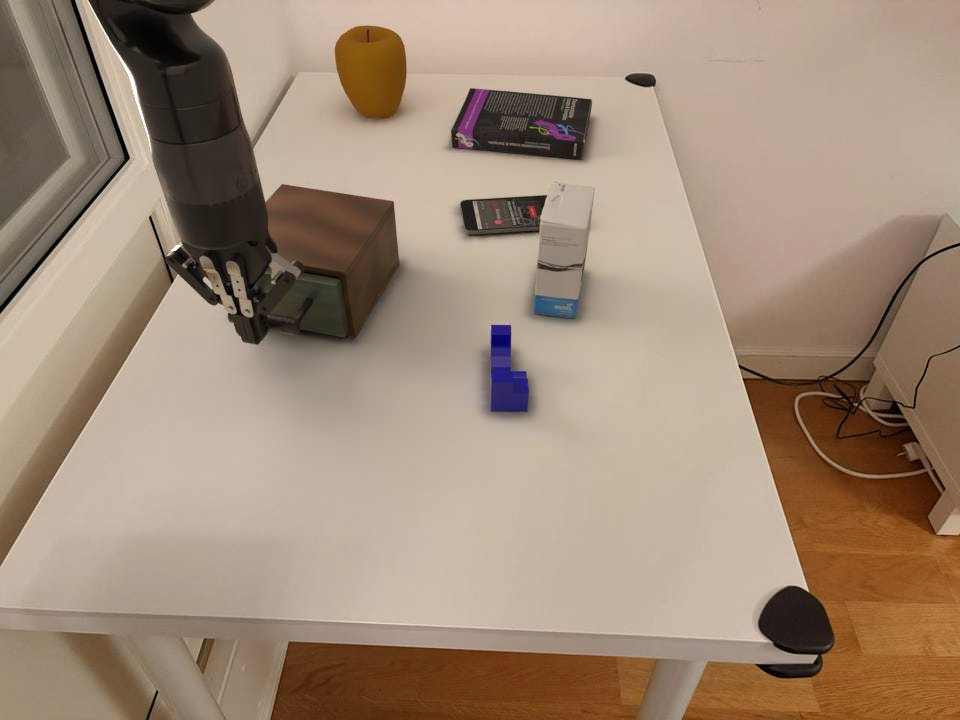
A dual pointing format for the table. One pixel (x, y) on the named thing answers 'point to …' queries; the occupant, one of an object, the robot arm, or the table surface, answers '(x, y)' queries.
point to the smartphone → (502, 214)
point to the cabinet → (338, 242)
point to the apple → (372, 69)
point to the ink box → (562, 249)
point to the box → (522, 123)
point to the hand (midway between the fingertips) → (255, 337)
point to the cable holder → (506, 375)
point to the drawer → (309, 306)
